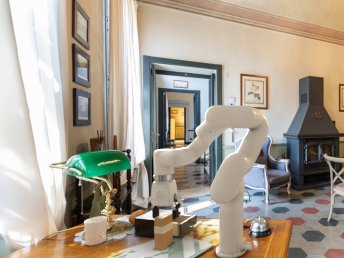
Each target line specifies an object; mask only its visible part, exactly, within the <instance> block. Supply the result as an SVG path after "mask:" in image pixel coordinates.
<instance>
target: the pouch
mask: <svg viewBox="0 0 344 258" xmlns="http://www.w3.org/2000/svg"><path fill="white" fill-rule="evenodd" d="M105 179H106V180H107V181H108V179H107V178H105ZM101 185H102V186H103V188H104V191H108V182H107V183H106V182H105V181H103V179H101V180H100V182H97V183H96V186H95V188H94V190H95V191H94V197H93V200H92V201H91V205H92V206H91V209H90V213H89V217H88V219H90V218H93V217H98V216H106V215H103V214H101V211H102V210H103V209H105V207H106V203H105V201H106V196H102V192H101V188H100V187H101ZM106 217H107V216H106ZM107 222H108V217H107Z"/></svg>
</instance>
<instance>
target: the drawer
mask: <svg viewBox="0 0 344 258" xmlns="http://www.w3.org/2000/svg"><path fill="white" fill-rule="evenodd" d="M202 224H203V221H201V220H200V221H198V214H194V215H189V214H181V215H180V214H179V217H178V218H176V219H175V220H173V237H178V238H179V239H183V238H184V237H186V236H187V235H188V234H189V233H191V232H193V231H194V230H196V229H197V228H198V227H199V226H201V225H202Z"/></svg>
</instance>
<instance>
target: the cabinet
mask: <svg viewBox="0 0 344 258" xmlns="http://www.w3.org/2000/svg"><path fill="white" fill-rule="evenodd" d="M172 210H173V209H163V208H159V215H161V214H163V213H172ZM181 213H182V212H181V210H179V214H180V215H182V214H181ZM134 236H135V237H141V238H150V239H154V219H153V217H152V210H150V211H148V212H146V213H145V214H143V215H141V216H138V217H136V218H135V225H134Z"/></svg>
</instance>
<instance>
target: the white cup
mask: <svg viewBox="0 0 344 258" xmlns="http://www.w3.org/2000/svg"><path fill="white" fill-rule="evenodd" d="M83 225H84V227H83V228H84V239H85V245H86V246H96V245H100V244H102V243H104V242H105V241H106V240H107V232H108V231H107V217H106V216H98V217H93V218H90V219H89V218H87V219H86V220H84V222H83Z"/></svg>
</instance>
